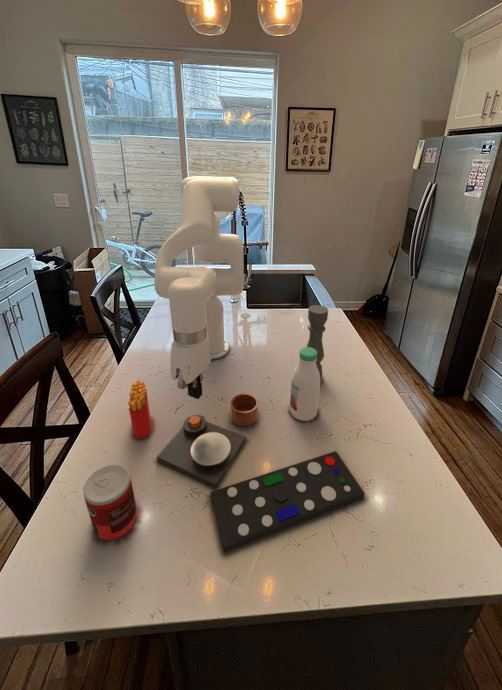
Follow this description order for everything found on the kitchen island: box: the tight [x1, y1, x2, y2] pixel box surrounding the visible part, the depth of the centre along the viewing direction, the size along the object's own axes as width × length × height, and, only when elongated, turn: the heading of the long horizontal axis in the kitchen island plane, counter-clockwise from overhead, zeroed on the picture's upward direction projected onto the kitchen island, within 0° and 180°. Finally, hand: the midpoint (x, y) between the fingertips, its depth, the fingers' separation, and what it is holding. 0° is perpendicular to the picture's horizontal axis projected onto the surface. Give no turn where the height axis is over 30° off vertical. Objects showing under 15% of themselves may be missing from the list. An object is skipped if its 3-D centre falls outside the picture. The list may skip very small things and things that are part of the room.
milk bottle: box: [289, 347, 321, 422], centre depth 89 cm, size 8×8×20 cm
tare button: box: [189, 415, 201, 428], centre depth 84 cm, size 3×3×2 cm
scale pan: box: [191, 432, 231, 467], centre depth 76 cm, size 9×9×1 cm
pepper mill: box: [306, 304, 329, 384], centre depth 101 cm, size 6×6×25 cm
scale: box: [156, 414, 247, 489], centre depth 79 cm, size 16×14×3 cm
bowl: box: [229, 392, 259, 427], centre depth 89 cm, size 7×7×5 cm
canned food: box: [82, 464, 138, 542], centre depth 62 cm, size 8×8×11 cm
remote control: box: [210, 450, 365, 553], centre depth 69 cm, size 11×30×2 cm, turn 111°
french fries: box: [127, 378, 152, 439], centre depth 83 cm, size 9×4×13 cm, turn 18°
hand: (195, 395), depth 81 cm, fingers closed
